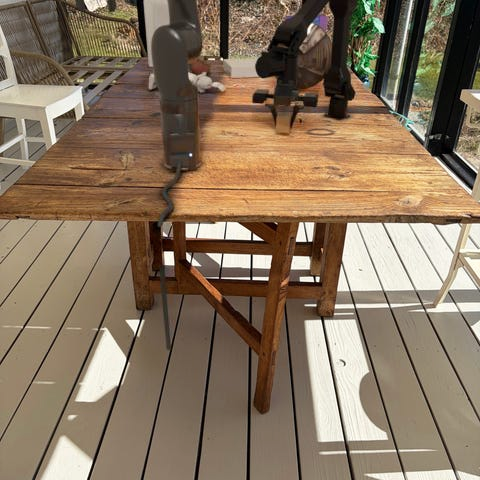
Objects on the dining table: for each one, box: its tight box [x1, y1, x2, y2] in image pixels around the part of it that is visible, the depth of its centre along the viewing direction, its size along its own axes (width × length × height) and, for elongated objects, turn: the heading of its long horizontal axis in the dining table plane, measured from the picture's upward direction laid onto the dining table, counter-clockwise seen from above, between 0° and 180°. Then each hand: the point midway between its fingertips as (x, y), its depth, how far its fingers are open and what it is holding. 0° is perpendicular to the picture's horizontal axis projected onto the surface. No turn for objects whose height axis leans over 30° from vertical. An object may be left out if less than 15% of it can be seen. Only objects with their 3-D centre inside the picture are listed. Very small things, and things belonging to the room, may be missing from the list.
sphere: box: [274, 22, 332, 91], centre depth 185 cm, size 25×25×25 cm
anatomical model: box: [188, 55, 212, 76], centre depth 208 cm, size 13×9×15 cm
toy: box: [148, 71, 227, 94], centre depth 184 cm, size 24×25×7 cm
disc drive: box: [222, 57, 260, 79], centre depth 214 cm, size 18×22×5 cm
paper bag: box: [143, 0, 169, 68], centre depth 223 cm, size 19×15×28 cm
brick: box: [275, 111, 293, 134], centre depth 142 cm, size 5×4×5 cm
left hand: (97, 11), depth 126 cm, fingers open, 8 cm apart
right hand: (283, 127), depth 143 cm, fingers closed on brick, 4 cm apart
